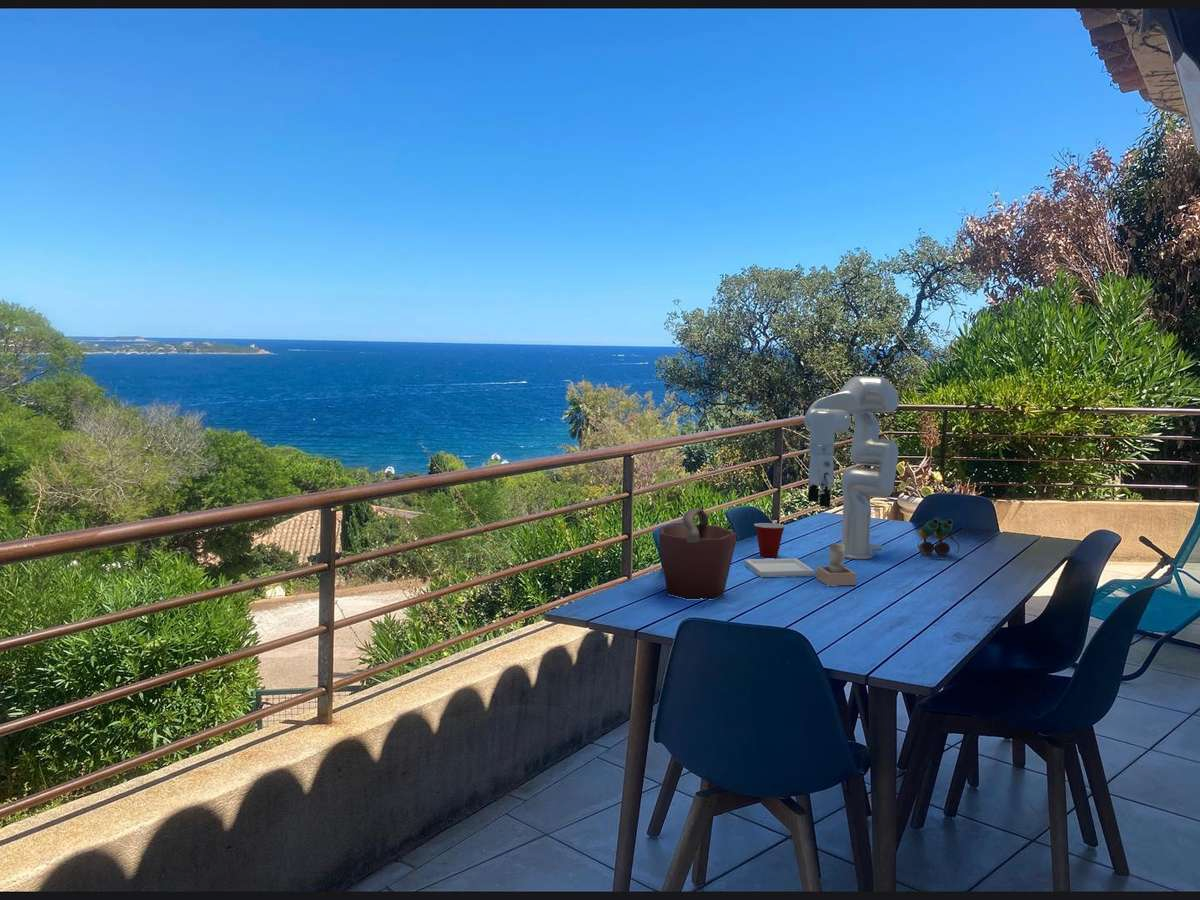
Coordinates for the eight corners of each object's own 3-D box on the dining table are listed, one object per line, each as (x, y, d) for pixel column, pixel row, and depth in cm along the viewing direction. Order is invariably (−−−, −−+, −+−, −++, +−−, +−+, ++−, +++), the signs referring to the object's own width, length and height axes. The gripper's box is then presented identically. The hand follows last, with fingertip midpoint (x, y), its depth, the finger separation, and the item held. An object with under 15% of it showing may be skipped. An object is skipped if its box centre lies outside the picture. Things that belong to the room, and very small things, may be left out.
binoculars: (954, 566, 292) (950, 526, 299) (967, 554, 280) (962, 513, 286) (914, 564, 294) (910, 524, 300) (925, 552, 281) (921, 511, 287)
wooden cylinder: (839, 580, 259) (841, 543, 257) (845, 584, 254) (847, 546, 253) (826, 580, 258) (827, 543, 257) (831, 584, 254) (833, 546, 252)
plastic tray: (795, 564, 278) (795, 558, 278) (814, 576, 263) (814, 570, 262) (744, 565, 276) (744, 559, 275) (760, 577, 260) (760, 571, 260)
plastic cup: (782, 554, 292) (783, 521, 291) (786, 561, 281) (787, 527, 280) (751, 553, 293) (752, 520, 292) (754, 560, 282) (755, 526, 281)
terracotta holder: (842, 578, 261) (843, 565, 261) (855, 585, 252) (856, 573, 252) (816, 578, 260) (816, 566, 260) (827, 586, 251) (828, 573, 251)
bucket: (709, 609, 226) (711, 520, 223) (639, 596, 238) (641, 511, 235) (742, 589, 247) (745, 507, 244) (677, 578, 259) (679, 499, 256)
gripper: (844, 452, 248) (841, 508, 250) (822, 447, 266) (820, 499, 267) (820, 452, 248) (817, 508, 249) (800, 446, 265) (797, 499, 267)
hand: (818, 503), depth 258 cm, fingers open, 9 cm apart
